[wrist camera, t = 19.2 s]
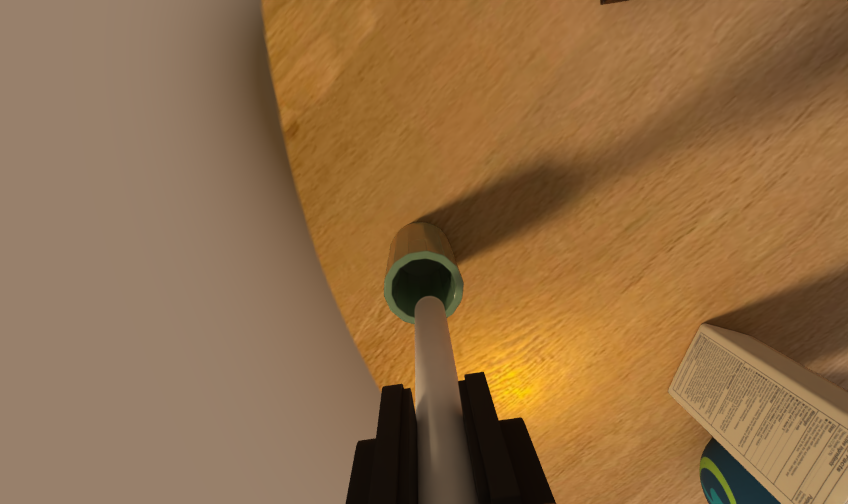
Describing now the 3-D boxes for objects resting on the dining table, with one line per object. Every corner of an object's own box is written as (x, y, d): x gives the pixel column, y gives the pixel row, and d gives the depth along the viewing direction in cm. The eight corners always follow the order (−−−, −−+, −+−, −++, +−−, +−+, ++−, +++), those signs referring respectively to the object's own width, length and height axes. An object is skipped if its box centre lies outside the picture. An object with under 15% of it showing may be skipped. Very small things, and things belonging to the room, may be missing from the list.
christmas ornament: (699, 392, 31) (829, 508, 21) (796, 409, 32) (965, 529, 22) (659, 478, 33) (761, 618, 23) (751, 492, 34) (886, 633, 24)
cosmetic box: (713, 403, 31) (895, 563, 19) (662, 390, 31) (817, 547, 19) (753, 332, 29) (977, 461, 18) (699, 318, 29) (894, 441, 17)
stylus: (412, 293, 19) (411, 671, 6) (441, 289, 19) (512, 658, 5) (416, 320, 19) (426, 735, 6) (445, 316, 19) (520, 722, 6)
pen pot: (385, 226, 26) (376, 258, 20) (446, 217, 26) (458, 245, 20) (395, 283, 27) (390, 330, 21) (454, 274, 27) (468, 319, 21)
